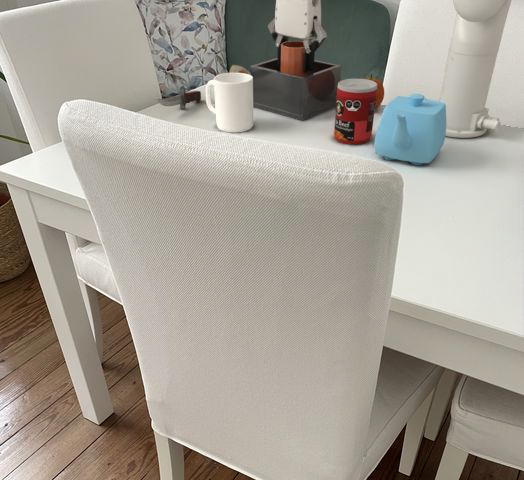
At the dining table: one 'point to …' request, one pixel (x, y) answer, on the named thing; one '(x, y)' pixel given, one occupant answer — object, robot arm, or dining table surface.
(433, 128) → the teapot
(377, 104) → the fruit
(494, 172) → the dining table surface
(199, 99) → the knife
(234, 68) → the mug
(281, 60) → the terracotta cup
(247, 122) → the cup
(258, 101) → the dark grey open box
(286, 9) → the robot arm
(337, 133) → the canned food
